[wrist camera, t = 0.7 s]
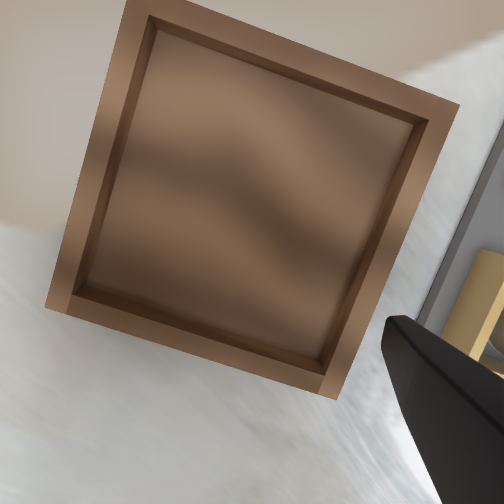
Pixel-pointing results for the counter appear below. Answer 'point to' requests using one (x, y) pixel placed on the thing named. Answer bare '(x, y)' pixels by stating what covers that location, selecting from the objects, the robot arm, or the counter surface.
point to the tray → (243, 195)
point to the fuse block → (473, 272)
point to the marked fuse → (498, 335)
